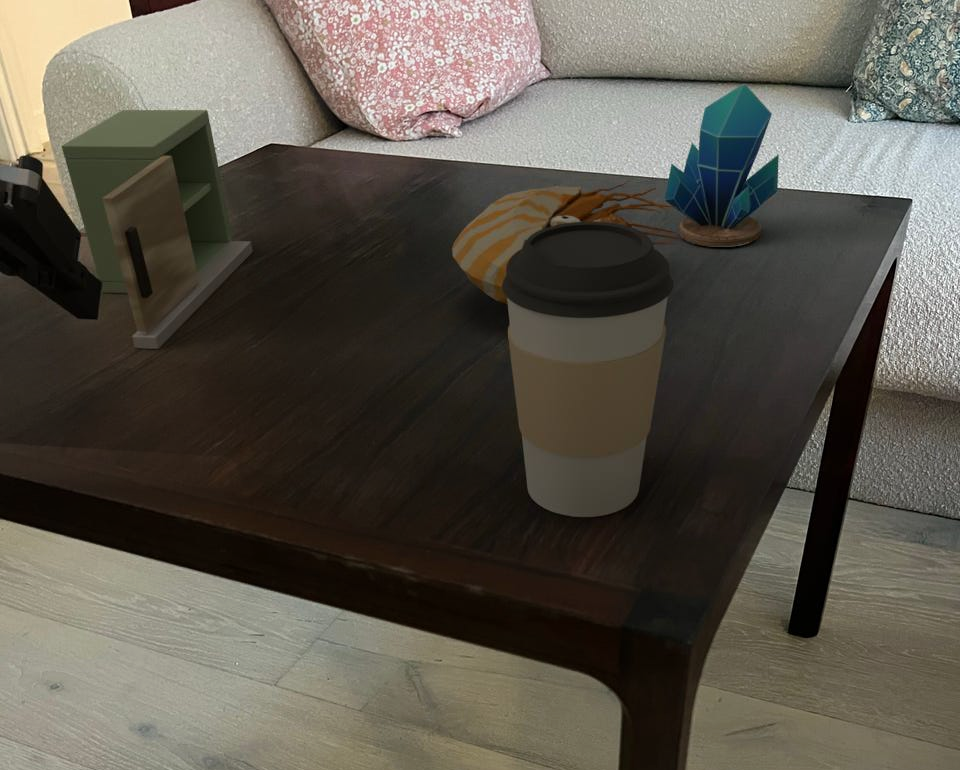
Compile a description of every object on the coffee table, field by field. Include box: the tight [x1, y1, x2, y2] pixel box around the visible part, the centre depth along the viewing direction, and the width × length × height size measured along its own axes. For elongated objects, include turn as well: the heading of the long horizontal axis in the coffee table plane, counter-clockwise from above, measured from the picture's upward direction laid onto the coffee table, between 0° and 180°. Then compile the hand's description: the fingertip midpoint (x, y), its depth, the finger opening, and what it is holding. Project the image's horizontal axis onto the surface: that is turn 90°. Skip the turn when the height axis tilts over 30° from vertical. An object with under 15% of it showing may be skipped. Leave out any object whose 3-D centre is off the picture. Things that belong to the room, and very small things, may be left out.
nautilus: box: [451, 179, 682, 306], centre depth 84 cm, size 8×22×15 cm
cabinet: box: [61, 109, 254, 350], centre depth 87 cm, size 10×22×12 cm, turn 169°
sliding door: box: [102, 156, 199, 332], centre depth 82 cm, size 1×10×10 cm, turn 169°
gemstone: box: [663, 83, 780, 247], centre depth 91 cm, size 7×9×12 cm
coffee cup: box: [502, 222, 675, 518], centre depth 59 cm, size 9×9×15 cm
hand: (90, 300), depth 74 cm, fingers closed
